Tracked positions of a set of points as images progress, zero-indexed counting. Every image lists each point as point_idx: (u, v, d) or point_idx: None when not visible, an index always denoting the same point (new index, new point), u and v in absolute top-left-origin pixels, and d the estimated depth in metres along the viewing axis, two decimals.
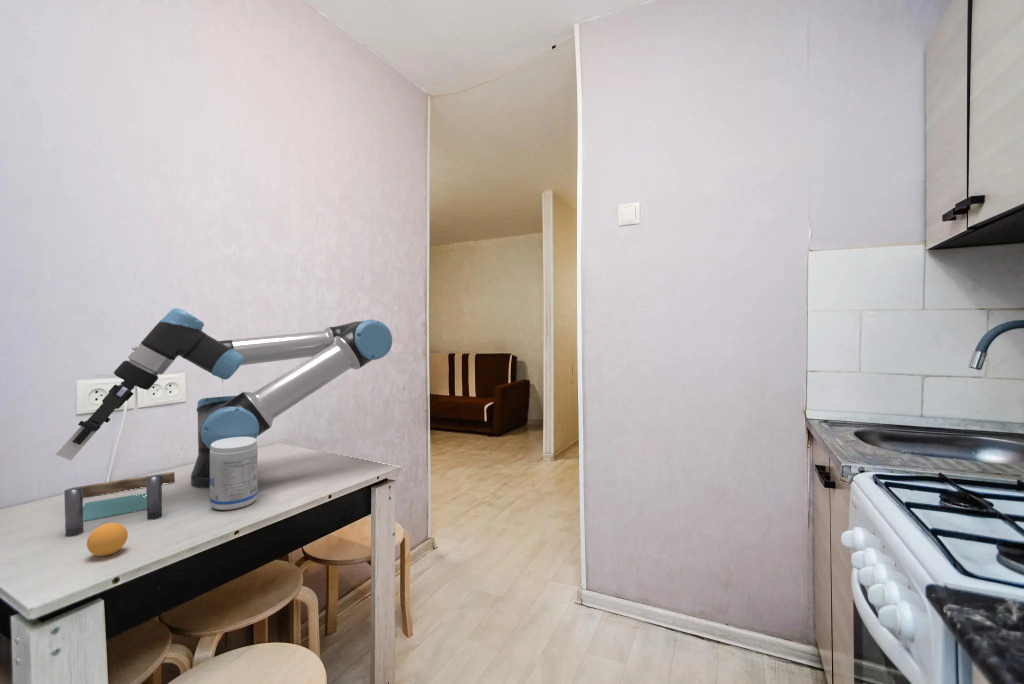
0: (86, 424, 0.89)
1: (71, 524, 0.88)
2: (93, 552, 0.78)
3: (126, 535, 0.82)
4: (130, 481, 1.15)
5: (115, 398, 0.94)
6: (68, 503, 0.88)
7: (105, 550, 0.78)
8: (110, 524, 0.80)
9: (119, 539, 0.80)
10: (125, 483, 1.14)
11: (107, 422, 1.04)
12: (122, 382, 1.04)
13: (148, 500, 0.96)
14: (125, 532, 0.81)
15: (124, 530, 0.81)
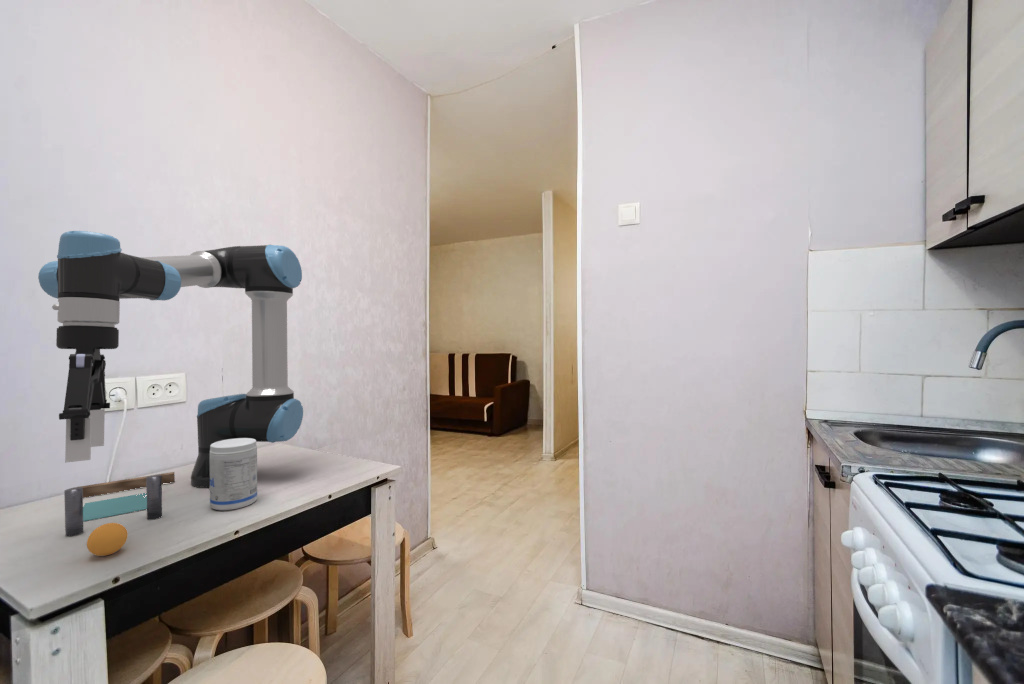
0: (68, 414, 0.65)
1: (71, 524, 0.88)
2: (93, 552, 0.78)
3: (126, 535, 0.82)
4: (130, 481, 1.15)
5: (78, 370, 0.68)
6: (68, 503, 0.88)
7: (105, 550, 0.78)
8: (110, 524, 0.80)
9: (119, 539, 0.80)
10: (125, 483, 1.14)
11: (108, 407, 0.81)
12: None
13: (148, 500, 0.96)
14: (125, 532, 0.81)
15: (124, 530, 0.81)
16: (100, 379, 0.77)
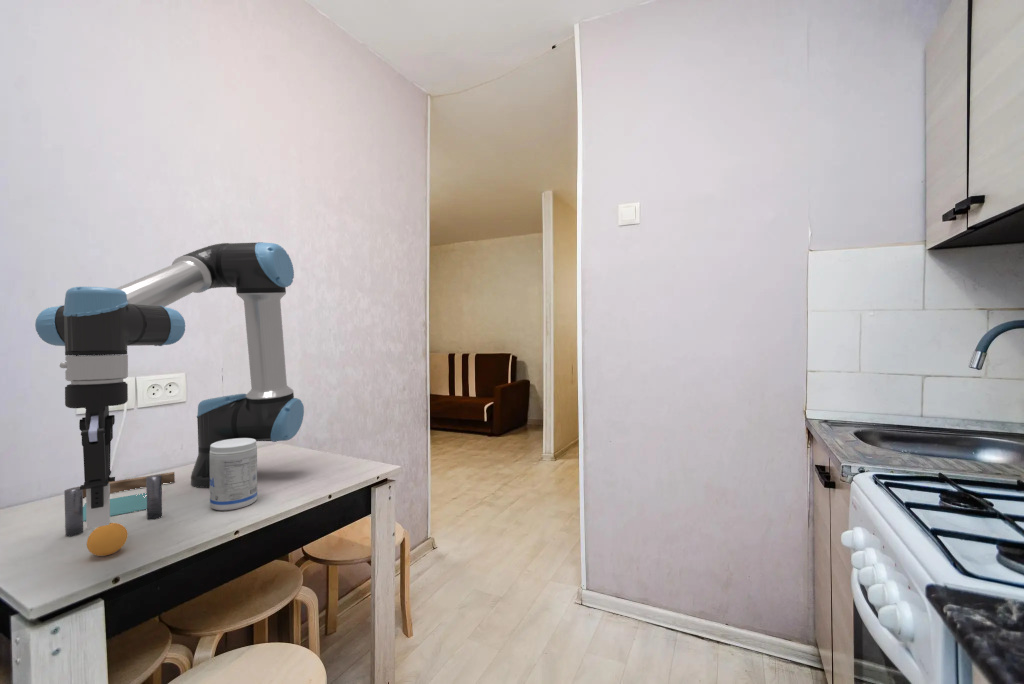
0: (89, 485, 0.69)
1: (71, 524, 0.88)
2: (93, 552, 0.78)
3: (126, 535, 0.82)
4: (130, 481, 1.15)
5: (92, 446, 0.68)
6: (68, 503, 0.88)
7: (105, 550, 0.78)
8: (110, 524, 0.80)
9: (119, 539, 0.80)
10: (125, 483, 1.14)
11: (114, 478, 0.74)
12: None
13: (148, 500, 0.96)
14: (125, 532, 0.81)
15: (124, 530, 0.81)
16: None
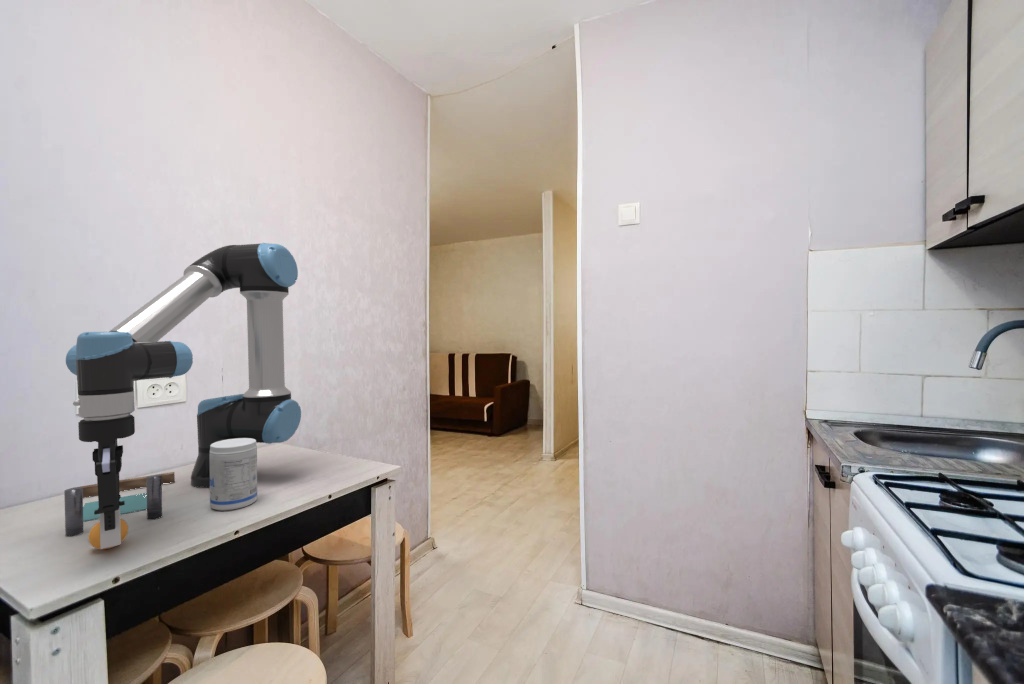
0: (102, 510, 0.77)
1: (71, 524, 0.88)
2: (94, 539, 0.80)
3: (126, 526, 0.84)
4: (130, 481, 1.15)
5: (105, 476, 0.76)
6: (68, 503, 0.88)
7: None
8: None
9: None
10: (125, 483, 1.14)
11: (124, 502, 0.82)
12: None
13: (148, 500, 0.96)
14: (126, 523, 0.84)
15: (125, 522, 0.85)
16: None
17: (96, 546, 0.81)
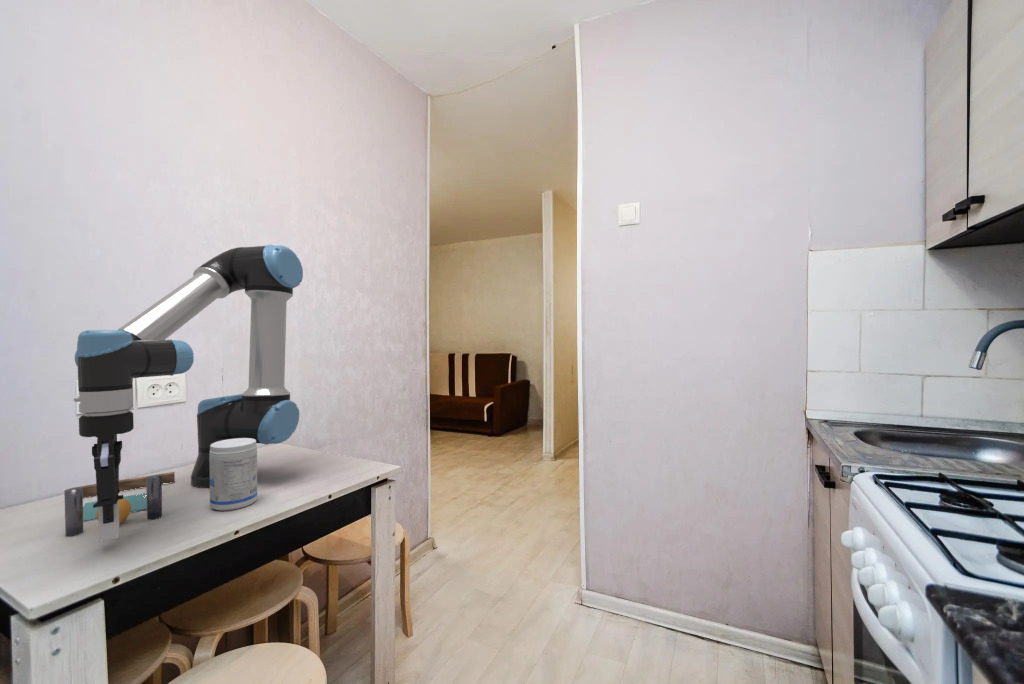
0: (101, 504, 0.80)
1: (71, 524, 0.88)
2: None
3: (130, 510, 0.95)
4: (130, 481, 1.15)
5: (103, 470, 0.79)
6: (68, 503, 0.88)
7: None
8: None
9: (124, 516, 0.93)
10: (125, 483, 1.14)
11: (122, 496, 0.84)
12: None
13: (148, 500, 0.96)
14: (129, 509, 0.94)
15: (128, 507, 0.94)
16: None
17: None
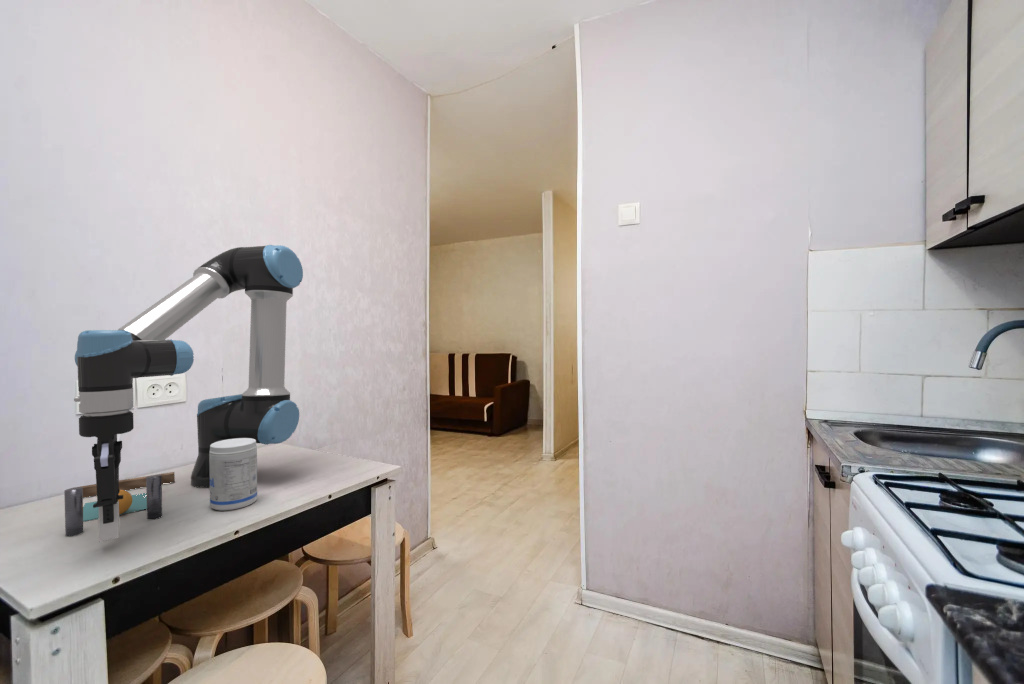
0: (101, 504, 0.80)
1: (71, 524, 0.88)
2: None
3: (131, 496, 1.00)
4: (130, 481, 1.15)
5: (103, 470, 0.79)
6: (68, 503, 0.88)
7: None
8: None
9: None
10: (125, 483, 1.14)
11: (122, 496, 0.84)
12: None
13: (148, 500, 0.96)
14: (130, 495, 1.01)
15: None
16: None
17: None
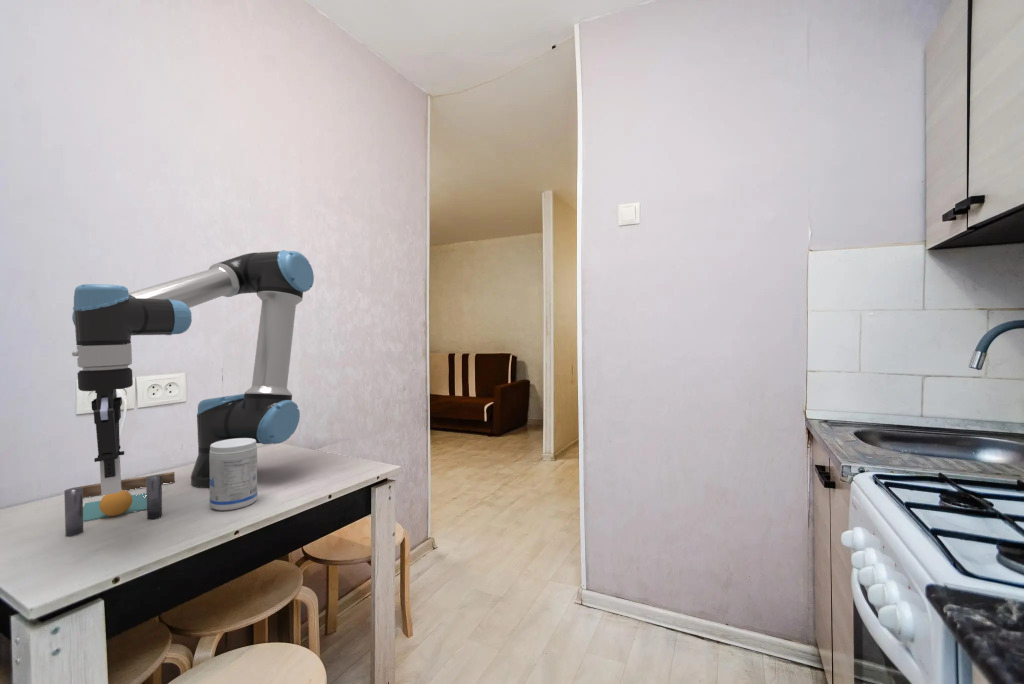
0: (102, 458, 0.80)
1: (71, 524, 0.88)
2: (104, 498, 0.97)
3: (131, 496, 1.00)
4: (130, 481, 1.15)
5: (103, 423, 0.79)
6: (68, 503, 0.88)
7: None
8: None
9: None
10: (125, 483, 1.14)
11: (123, 452, 0.85)
12: None
13: (148, 500, 0.96)
14: (130, 495, 1.01)
15: None
16: None
17: (105, 504, 0.96)
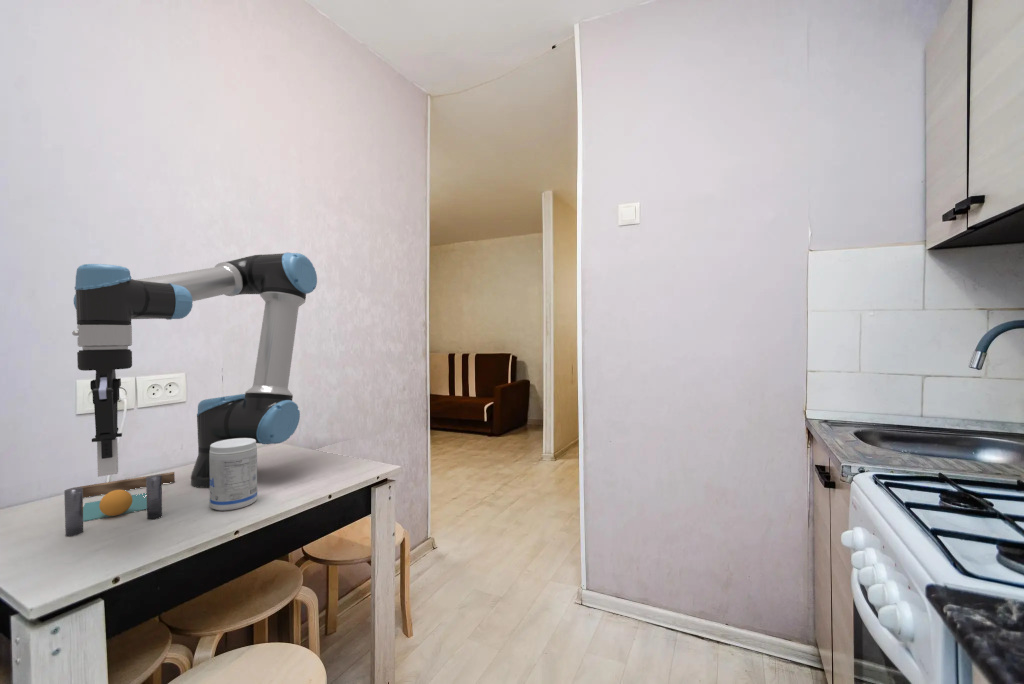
0: (99, 437, 0.80)
1: (71, 524, 0.88)
2: (104, 498, 0.97)
3: (131, 496, 1.00)
4: (130, 481, 1.15)
5: (102, 403, 0.78)
6: (68, 503, 0.88)
7: (114, 492, 0.98)
8: None
9: None
10: (125, 483, 1.14)
11: (121, 434, 0.84)
12: None
13: (148, 500, 0.96)
14: (130, 495, 1.01)
15: None
16: None
17: (105, 504, 0.96)
